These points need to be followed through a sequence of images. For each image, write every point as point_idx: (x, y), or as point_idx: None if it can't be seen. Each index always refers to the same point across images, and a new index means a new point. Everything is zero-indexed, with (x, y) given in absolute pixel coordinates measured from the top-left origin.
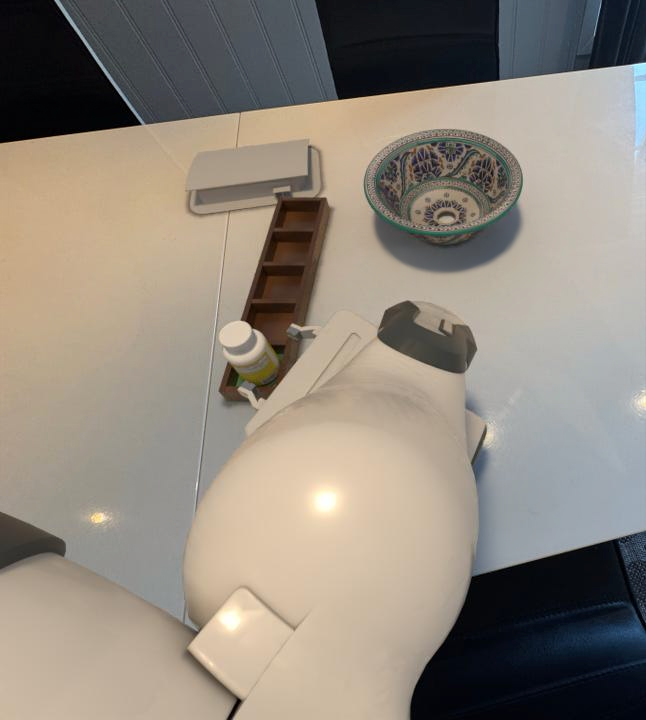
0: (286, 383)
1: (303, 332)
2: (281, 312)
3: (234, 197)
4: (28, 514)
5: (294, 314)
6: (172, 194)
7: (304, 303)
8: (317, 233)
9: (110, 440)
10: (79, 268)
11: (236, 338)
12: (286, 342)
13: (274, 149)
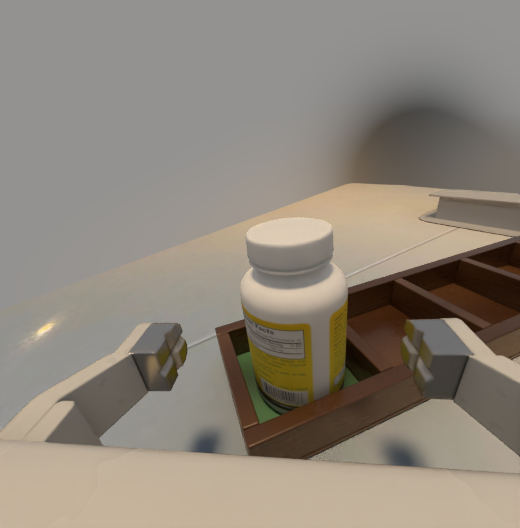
0: (97, 509)
1: (483, 377)
2: None
3: (476, 219)
4: (77, 287)
5: None
6: (413, 208)
7: (503, 347)
8: None
9: (152, 291)
10: (307, 215)
11: (276, 235)
12: (387, 369)
13: None
